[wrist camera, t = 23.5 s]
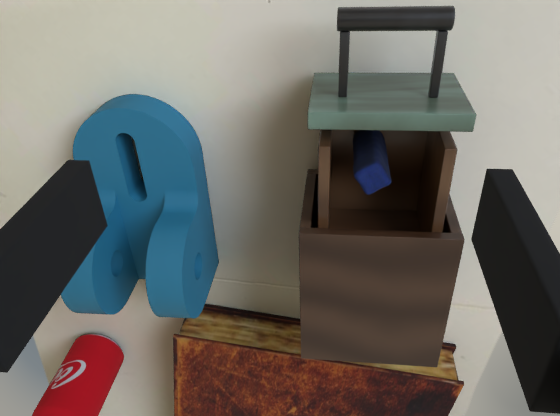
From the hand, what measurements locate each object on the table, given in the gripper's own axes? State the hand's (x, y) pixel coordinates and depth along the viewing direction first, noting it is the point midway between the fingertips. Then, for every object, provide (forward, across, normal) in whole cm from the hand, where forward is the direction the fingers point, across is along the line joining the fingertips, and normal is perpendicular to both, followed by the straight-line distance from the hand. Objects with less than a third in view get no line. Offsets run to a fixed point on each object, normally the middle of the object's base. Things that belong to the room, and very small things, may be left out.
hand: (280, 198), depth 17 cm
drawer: (+24, +5, -7) cm, 25 cm away
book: (+24, -1, -43) cm, 50 cm away
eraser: (+23, +4, -8) cm, 24 cm away
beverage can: (+24, -26, -38) cm, 52 cm away
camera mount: (+24, -15, -15) cm, 32 cm away
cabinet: (+24, +5, -19) cm, 31 cm away
